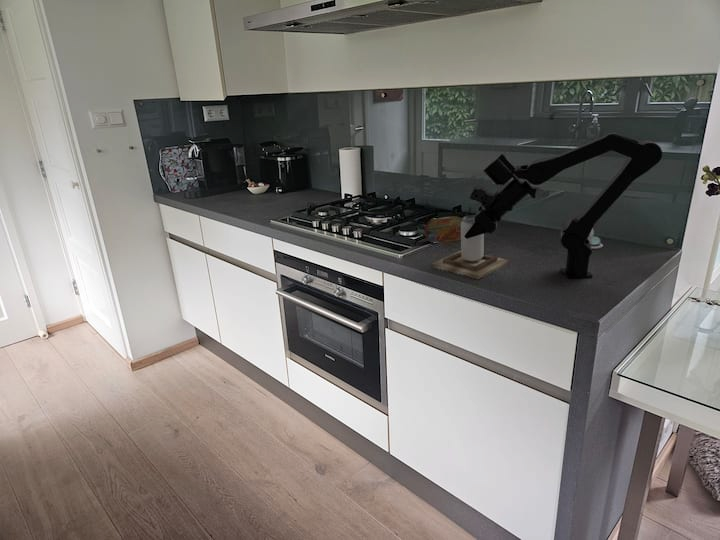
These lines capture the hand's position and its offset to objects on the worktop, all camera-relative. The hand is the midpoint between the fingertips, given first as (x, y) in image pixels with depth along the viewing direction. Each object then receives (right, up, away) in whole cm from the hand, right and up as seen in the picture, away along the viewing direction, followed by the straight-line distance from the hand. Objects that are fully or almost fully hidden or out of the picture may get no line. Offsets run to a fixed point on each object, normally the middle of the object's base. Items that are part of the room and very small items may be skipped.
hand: (467, 234), depth 141 cm
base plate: (+2, -9, +3) cm, 10 cm away
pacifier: (+43, -3, +15) cm, 46 cm away
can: (+2, -7, +3) cm, 8 cm away
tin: (-2, -1, +27) cm, 27 cm away
